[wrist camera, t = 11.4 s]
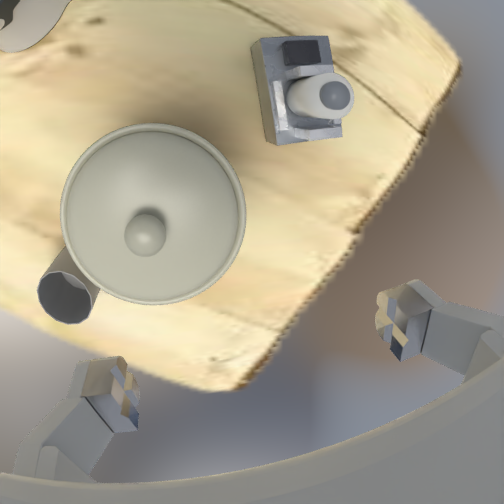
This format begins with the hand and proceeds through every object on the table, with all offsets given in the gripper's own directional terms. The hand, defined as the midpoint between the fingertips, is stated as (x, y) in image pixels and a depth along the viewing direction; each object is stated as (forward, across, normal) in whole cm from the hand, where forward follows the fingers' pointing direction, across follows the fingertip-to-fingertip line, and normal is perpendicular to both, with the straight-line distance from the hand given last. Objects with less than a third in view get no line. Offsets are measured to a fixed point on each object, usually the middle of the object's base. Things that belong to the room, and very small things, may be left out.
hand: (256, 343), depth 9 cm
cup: (+37, +22, +11) cm, 45 cm away
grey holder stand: (+37, -14, -8) cm, 40 cm away
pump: (+31, -14, -7) cm, 35 cm away
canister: (+37, +6, +2) cm, 38 cm away
